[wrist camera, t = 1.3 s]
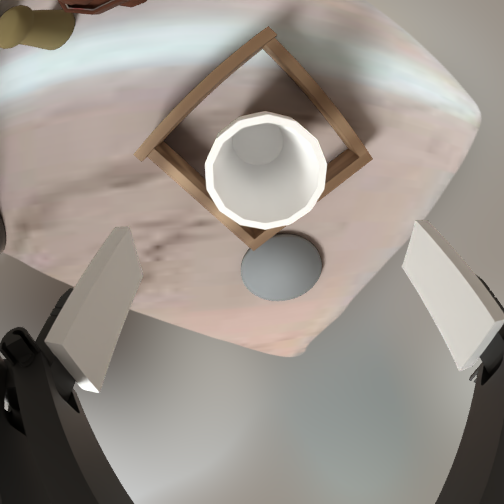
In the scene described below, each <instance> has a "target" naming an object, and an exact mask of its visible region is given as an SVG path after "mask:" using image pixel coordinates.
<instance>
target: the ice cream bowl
mask: <svg viewBox="0 0 504 504" xmlns="http://www.w3.org/2000/svg"><path fill="white" fill-rule="evenodd" d="M146 1H147V0H58V2H59V3H60V5H61V7H62V8H63V10H64V11H65V12H67V13H81V14H92V15H93V14H101V13H103V12H105V11H107V10H109V9H112V8H114V7H116V6H118V5H120V6H127V7H134V6H136V5H139V4H141V3H144V2H146Z"/></svg>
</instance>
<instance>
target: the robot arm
mask: <svg viewBox="0 0 504 504" xmlns="http://www.w3.org/2000/svg"><path fill="white" fill-rule="evenodd" d="M5 243H6V235H5V229H4V225H3V222H2V219H1V216H0V254H1V253H2V252H3V250H4V248H5ZM402 268H403V269H404V271H405V273H406V274H407V276H408V277H409V279H410V281H411V282H412V284H413V285H414V287H415V289H416V290H417V292H418V294H419V295H420V297H421V299H422V300H423V302H424V304H425V306H426V307H427V309H428V311H429V313H430V315H431V316H432V318H433V320H434V322H435V324H436V325H437V327H438V329H439V331H440V333H441V335H442V337H443V339H444V340H445V343H446V345H447V346H448V349H449V351H450V353H451V355H452V357H453V359H454V361H455V363H456V365H457V367H458V369H459V371H461V370H464V369H466V368H470V367H472V366H473V364H474V363H475V362H476V361H477V360H478V359H479V357H480V358H481V360H482V363H481V364H480V366H479V367H478V368H477V369H476V370H475V372H474V373H473V374H472V375H471V377H470V379H469V380H470V381H471V380H472V379H473V378H474V377H475V375H477V378H476V379H475V381H474V382H475V383H476V384H475V390H474V394H473V399H472V403H471V407H470V411H469V415H468V419H467V422H466V426H465V429H464V433H463V436H462V439H461V442H460V446H459V448H458V451H457V454H456V457H455V459H454V462H453V465H452V468H451V470H450V472H449V475H448V477H447V480H446V482H445V484H444V486H443V488H442V491H441V493H440V495H439V497H438V499H437V501H436V503H435V504H504V308H503V307H502V305H501V304H500V302H499V301H498V299H497V298H495V297H494V294H493V293H492V291H490V289H489V287H488V286H487V285H486V283H485V282H484V281H483V280H482V279H481V278H480V277H478V276H477V275H476V274H475V273H474V272H473V271H472V270H471V268H470V267H469V266H468V265H467V264H466V262H465V261H464V260H463V259H462V258H461V256H460V255H459V254H458V253H457V252H456V251H455V250H454V248H453V247H452V246H451V245H450V244H449V243H448V242H447V240H446V239H445V238H444V237H443V236H442V235H441V234H440V233H439V232H438V231H437V230H436V229H435V228H434V226H433V225H432V224H430V223H429V221H427V220H415V224H414V228H413V232H412V235H411V239H410V243H409V246H408V249H407V252H406V256H405V259H404V262H403V265H402ZM142 278H143V272H142V268H141V265H140V262H139V258H138V255H137V251H136V248H135V244H134V240H133V237H132V233H131V229H130V226H127V227H115V228H114V230H113V231H112V232H111V234H110V235H109V237H108V238H107V239H106V241H105V242H104V244H103V245H102V246H101V248H100V249H99V251H98V252H97V254H96V255H95V257H94V258H93V260H92V261H91V263H90V264H89V266H88V267H87V269H86V270H85V272H84V273H83V275H82V276H81V278H80V280H79V281H78V283H77V284H76V286H75V288H74V289H73V288H70V289H69V290H68V291H66V292H65V293H64V294H63V295H62V296H61V297H60V299H59V301H58V302H57V304H56V306H55V308H54V309H53V311H52V313H51V314H50V315H51V316H50V317H49V318H48V319H47V321H46V323H45V325H44V326H43V328H42V330H41V332H40V334H39V336H38V337H37V340H36V341H34V340H33V338H32V337H31V336H30V334H29V333H28V331H27V330H26V329H24V328H22V327H17V328H14V329H12V330H10V331H9V332H8V333H7V334H6V335H5V336H4V337H3V338H2V341H1V343H0V352H1V353H2V354H3V355H4V356H5V358H6V359H2V358H1V356H0V504H134V503H133V501H132V500H131V498H130V497H129V495H128V494H127V492H126V491H125V489H124V488H123V486H122V484H121V483H120V481H119V479H118V478H117V476H116V474H115V473H114V471H113V469H112V468H111V466H110V464H109V462H108V460H107V459H106V457H105V455H104V453H103V451H102V449H101V447H100V445H99V443H98V441H97V439H96V437H95V435H94V433H93V431H92V429H91V427H90V424H89V422H88V420H87V418H86V415H85V413H84V411H83V408H82V406H81V403H80V401H79V398H78V396H77V393H76V392H75V390H74V389H73V386H74V384H75V381H76V382H77V383H78V385H79V386H80V387H81V388H82V389H83V390H88V391H92V392H97V393H100V391H101V388H102V385H103V381H104V378H105V375H106V372H107V369H108V366H109V363H110V360H111V357H112V354H113V352H114V348H115V346H116V343H117V340H118V338H119V335H120V332H121V330H122V327H123V324H124V321H125V319H126V317H127V314H128V311H129V309H130V306H131V304H132V302H133V299H134V297H135V294H136V292H137V289H138V287H139V285H140V282H141V280H142ZM4 402H5V403H7V404H8V411H6V410H5V409H4Z"/></svg>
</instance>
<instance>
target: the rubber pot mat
mask: <svg viewBox="0 0 504 504" xmlns="http://www.w3.org/2000/svg"><path fill="white" fill-rule="evenodd" d="M321 269H322V263H321V258H320V255H319V253H318V251H317V249H316V248H315V246H314V245H313V244H312V243H311V242H309V241H308V240H307V239H305V238H303V237H300V236H297V235H293V234H276V235H274V236H273V237H271V238H270V239H269V240H267V241H266V242H265V243H264V244H262V245H261V246H260V247H258V248H257V249H256V250H254V251H253V250H252V249H251V248H250V249H249V250H248V251H247V252H246V254H245V256H244V258H243V260H242V264H241V276H242V280H243V282H244V284H245V286H246V287H247V289H248V290H249V291H250V292H251V293H253V294H254V295H256V296H258V297H260V298H263V299H266V300H271V301H285V300H290V299H293V298H296V297H299V296H301V295H303V294H304V293H306V292H307V291H309V290H310V289H311V288H312V287H313V286H314V285H315V283H316V282H317V280H318V279H319V277H320V274H321Z"/></svg>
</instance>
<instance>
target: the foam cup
mask: <svg viewBox="0 0 504 504" xmlns="http://www.w3.org/2000/svg"><path fill="white" fill-rule="evenodd" d="M326 170H327V163H326V160H325V157H324V155H323V152H322V150H321V147H320V145H319V142H318V140H317V139H316V138H315V137H314V136H313V135H312V134H310V133H309V132H308V131H307V130H306V129H305V128H304V127H302V126H301V125H300V124H299V123H298V122H297V121H295V120H294V119H293V118H291V117H288V116H284V115H280V114H276V113H272V112H267V111H263V112H258V113H254V114H249V115H244V116H240V117H238V118H237V119H235V120H234V121H233V122H232V123H230V124H229V125H228V126H227V127H225V128H224V129H223V130H222V131H220V132H219V133H218V135H217V137H216V139H215V142H214V144H213V146H212V148H211V150H210V153H209V155H208V157H207V160H206V162H205V174H206V189H207V191H208V193H209V195H210V196H211V198H212V200H213V201H214V203H215V205H216V206H217V208H218V210H219V211H220V212H222V213H223V214H225V215H226V216H228V217H229V218H231V219H232V220H234V221H235V222H237V223H238V224H240V225H243V226H248V227H254V228H259V229H264V230H266V229H271V228H276V227H281V226H285V225H290V224H292V223H293V222H295V221H296V220H298V219H299V218H301V217H302V216H304V215H305V214H307V213H308V212H309V211H311V210H312V208H313V207H314V205H315V203H316V202H317V200H318V199H319V197H320V195H321V194H322V192H323V191H324V188H325V179H326Z"/></svg>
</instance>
